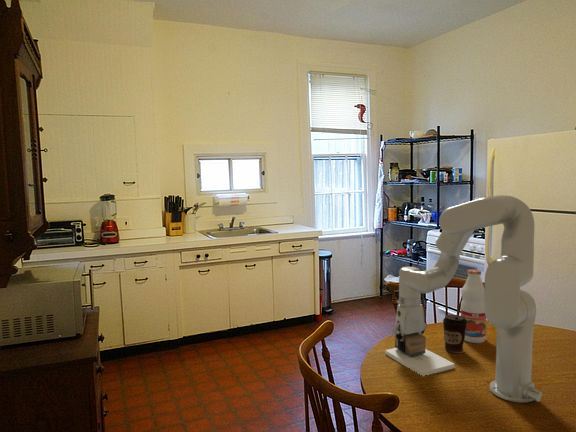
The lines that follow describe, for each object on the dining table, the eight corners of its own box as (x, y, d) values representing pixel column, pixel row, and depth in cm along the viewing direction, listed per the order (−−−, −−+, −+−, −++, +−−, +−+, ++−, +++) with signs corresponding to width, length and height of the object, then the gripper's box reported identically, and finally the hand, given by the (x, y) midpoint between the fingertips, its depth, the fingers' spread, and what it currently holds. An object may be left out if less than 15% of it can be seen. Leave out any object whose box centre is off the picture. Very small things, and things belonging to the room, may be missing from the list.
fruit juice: (484, 336, 175) (486, 268, 172) (486, 344, 166) (488, 273, 163) (459, 333, 178) (461, 267, 176) (460, 342, 169) (461, 272, 167)
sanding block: (425, 353, 155) (425, 336, 154) (411, 356, 152) (411, 340, 151) (408, 344, 163) (408, 328, 162) (394, 347, 160) (394, 331, 159)
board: (454, 368, 147) (454, 363, 147) (422, 376, 141) (422, 372, 141) (414, 347, 165) (414, 343, 165) (385, 354, 159) (385, 350, 159)
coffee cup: (462, 357, 156) (463, 322, 154) (439, 351, 161) (439, 318, 159) (468, 349, 162) (469, 315, 161) (446, 344, 167) (447, 311, 166)
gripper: (397, 307, 149) (397, 357, 150) (435, 300, 156) (435, 348, 158) (383, 301, 156) (383, 349, 157) (421, 295, 163) (420, 341, 164)
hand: (409, 348), depth 157 cm, fingers closed on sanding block, 6 cm apart
